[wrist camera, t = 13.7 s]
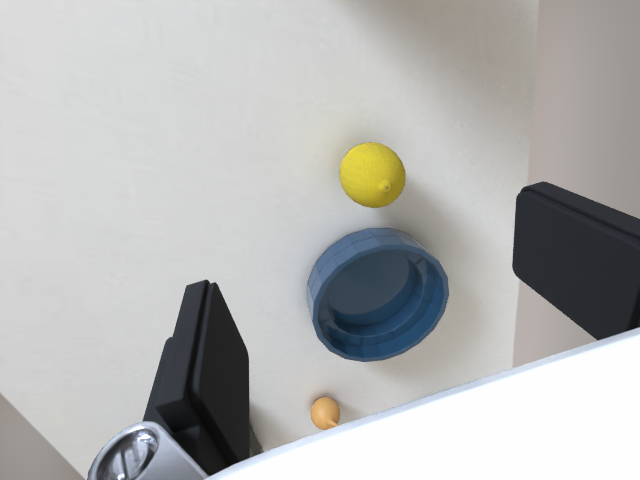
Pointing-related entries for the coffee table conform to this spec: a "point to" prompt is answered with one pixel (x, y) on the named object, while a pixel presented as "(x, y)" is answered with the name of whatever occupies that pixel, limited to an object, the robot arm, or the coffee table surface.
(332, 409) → the figurine
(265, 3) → the coffee table surface
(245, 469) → the robot arm
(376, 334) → the bowl
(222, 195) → the coffee table surface
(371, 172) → the lemon
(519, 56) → the coffee table surface
